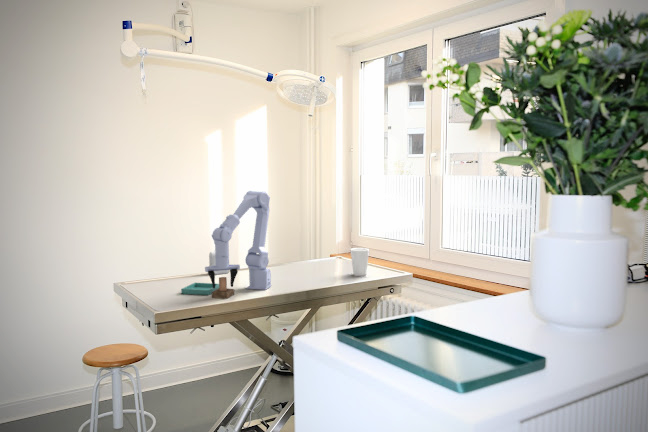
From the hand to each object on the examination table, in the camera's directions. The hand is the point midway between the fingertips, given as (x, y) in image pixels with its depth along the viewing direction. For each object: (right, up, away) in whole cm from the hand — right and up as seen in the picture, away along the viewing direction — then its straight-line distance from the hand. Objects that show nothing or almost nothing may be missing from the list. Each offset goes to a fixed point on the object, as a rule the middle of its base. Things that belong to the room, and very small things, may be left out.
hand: (222, 287), depth 236 cm
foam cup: (+62, +1, +43) cm, 75 cm away
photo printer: (-10, +1, +47) cm, 48 cm away
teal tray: (-11, -3, +9) cm, 15 cm away
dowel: (0, -4, 0) cm, 4 cm away
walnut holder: (0, -4, 0) cm, 4 cm away
